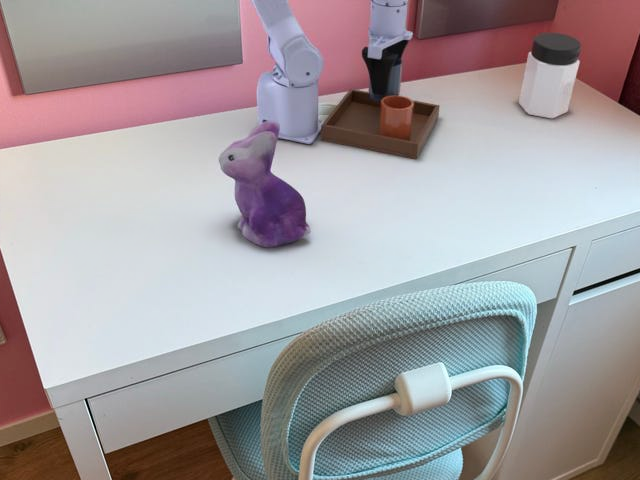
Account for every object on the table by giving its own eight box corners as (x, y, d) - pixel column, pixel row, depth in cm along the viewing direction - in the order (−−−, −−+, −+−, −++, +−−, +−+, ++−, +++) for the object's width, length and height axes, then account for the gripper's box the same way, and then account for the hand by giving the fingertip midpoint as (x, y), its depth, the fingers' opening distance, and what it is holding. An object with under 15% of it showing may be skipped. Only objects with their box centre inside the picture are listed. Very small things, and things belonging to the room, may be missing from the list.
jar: (546, 123, 129) (561, 54, 120) (510, 106, 132) (523, 39, 124) (575, 109, 133) (592, 42, 125) (539, 94, 137) (553, 28, 129)
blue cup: (364, 99, 121) (366, 63, 117) (373, 87, 125) (375, 51, 121) (394, 105, 120) (397, 69, 116) (402, 92, 124) (405, 57, 120)
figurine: (222, 218, 101) (211, 115, 90) (293, 207, 104) (291, 106, 93) (239, 257, 94) (229, 151, 84) (314, 244, 98) (313, 140, 87)
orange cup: (375, 141, 118) (377, 106, 114) (384, 127, 122) (386, 92, 118) (405, 147, 118) (409, 112, 113) (413, 133, 121) (417, 98, 117)
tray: (321, 140, 119) (321, 125, 117) (349, 102, 129) (350, 88, 128) (416, 159, 116) (418, 144, 114) (438, 119, 127) (439, 105, 125)
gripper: (402, 19, 106) (395, 108, 116) (425, -10, 116) (417, 74, 126) (356, 12, 107) (353, 100, 117) (383, -17, 118) (378, 67, 127)
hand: (383, 86), depth 121 cm, fingers closed on blue cup, 5 cm apart
